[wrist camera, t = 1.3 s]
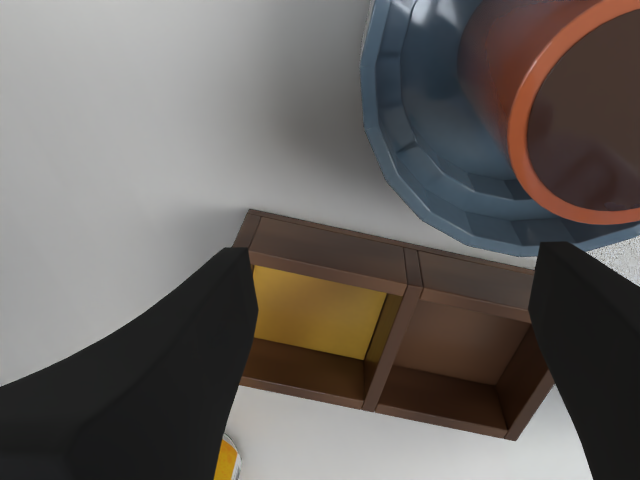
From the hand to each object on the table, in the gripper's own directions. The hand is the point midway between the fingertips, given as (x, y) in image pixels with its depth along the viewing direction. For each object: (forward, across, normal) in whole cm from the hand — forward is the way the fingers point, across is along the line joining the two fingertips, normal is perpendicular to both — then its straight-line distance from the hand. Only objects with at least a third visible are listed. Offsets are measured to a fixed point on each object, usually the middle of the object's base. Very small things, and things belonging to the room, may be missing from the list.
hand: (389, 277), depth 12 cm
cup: (+10, -6, -3) cm, 12 cm away
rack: (+10, 0, +9) cm, 14 cm away
